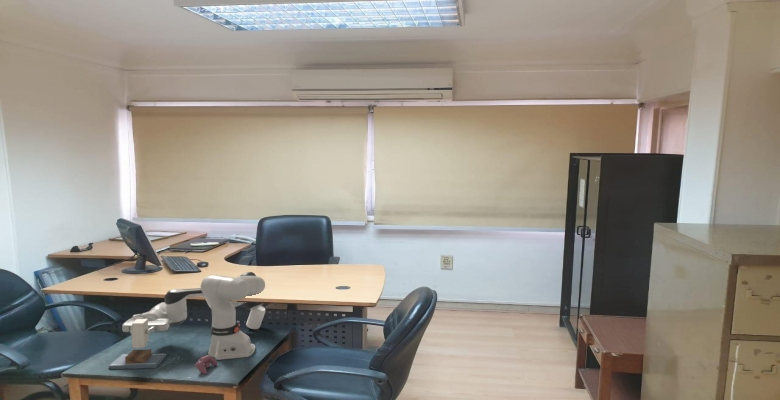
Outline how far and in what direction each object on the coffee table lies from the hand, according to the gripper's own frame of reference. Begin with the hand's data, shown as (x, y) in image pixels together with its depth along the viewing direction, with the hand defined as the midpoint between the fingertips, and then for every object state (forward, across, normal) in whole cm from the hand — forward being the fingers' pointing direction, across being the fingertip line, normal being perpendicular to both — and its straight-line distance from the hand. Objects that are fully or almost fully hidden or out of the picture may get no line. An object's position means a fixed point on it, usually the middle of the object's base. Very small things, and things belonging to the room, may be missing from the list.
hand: (139, 332), depth 192 cm
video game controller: (+10, -32, -15) cm, 37 cm away
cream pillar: (-1, 0, -7) cm, 7 cm away
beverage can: (-41, -44, -17) cm, 62 cm away
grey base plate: (+1, 0, -14) cm, 14 cm away
